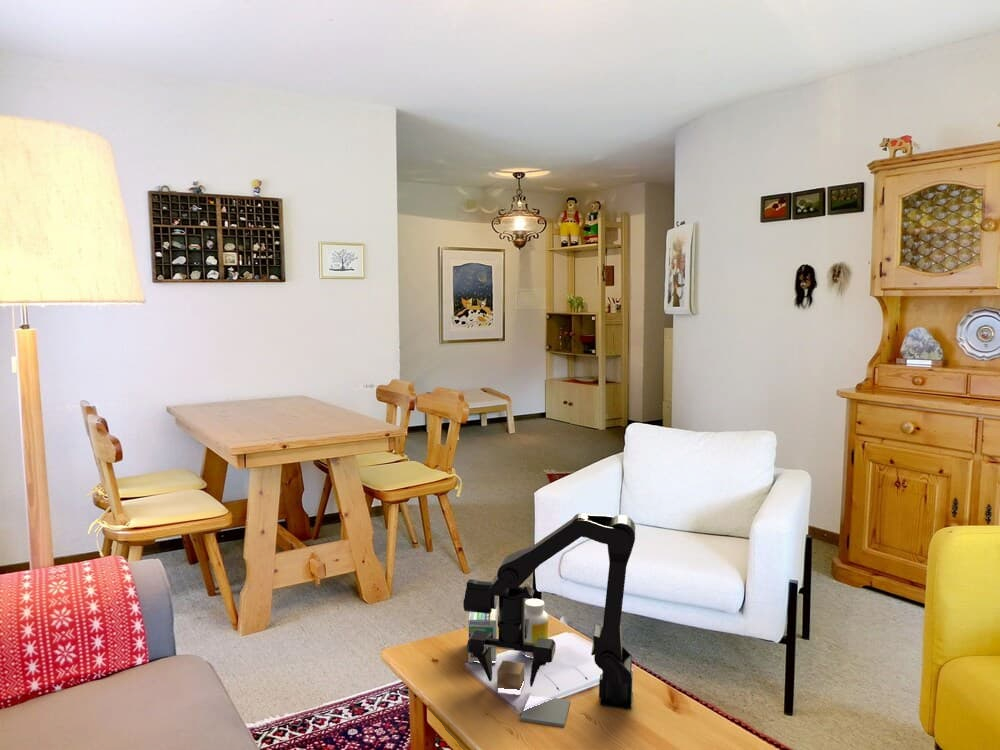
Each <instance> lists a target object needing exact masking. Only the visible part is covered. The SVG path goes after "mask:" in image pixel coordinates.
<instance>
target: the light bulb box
mask: <svg viewBox="0 0 1000 750" xmlns="http://www.w3.org/2000/svg"><path fill="white" fill-rule="evenodd" d="M497 623H498V606H497V607H496V609H492V612H491V613H490V614H488V613H478V612H468V639H469V638H470V636H471V635H472V633H473V632H474V631H475V630H478V631H487V632H490V634H491V638H495V639H498V626H497ZM497 653H498V648H491V660H492V661H496V662H497ZM474 661H479V660H478V658H477V657H474V656H473V653H469V652H468V663H469V662H474Z"/></svg>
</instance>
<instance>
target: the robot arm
mask: <svg viewBox="0 0 1000 750" xmlns="http://www.w3.org/2000/svg"><path fill="white" fill-rule="evenodd" d="M580 538H587V539H589V540H592V541H594V542H597V543H600V544H604V545H606V546H607V553H608V562H609V565H608V574H607V575H608V576H607V584H606V585H607V586H606V592H605V593H606V594H605V602H604V612H603V613H604V614H603V620H602V622H601V625H599V624H594V631H593V636H592V638H593V640H592V646H591V653H590V654H591V655H590V656H593V659H594V663H595V665H596V666H597V667H598V669H600V670H601V671H602V673H601V674H600V676H599V682H598V683H599V684H598V686H599V687H598V698H599V699H600V705H599V706H602V707H609V708H618V709H623V710H632V709H633V698H634V692H633V680H634V679H633V677H634V675H633V674H634V672H633V671H634V670H632V668H633V666H632V664H633V656H632V653H630V652H629V651H628V650H627V648H625V647H624V645H623V637H622V635H623V633H622V626H621V622H622V621H621V619H622V610H623V601H624V592H625V583H626V573H627V566H628V563H629V561H630V560H629V559H630V557H631V554H632V551H633V548H634V545H635V541H636V525H635V522H634V520H632V518H631V517H629V516H628V515H623V514H617V515H615V516H611V515H605V514H588V513H583V512H580V513H576V514H575V515H574V516H573V517H572V518H571V519H570V520H568V521H567V522H566V523H564V524H562V525H561V526H560V527H558V528H557V529H555V530H553V531H552V532H551V533H549V534H548V535H547V536H544V538H542V539H541V540H539V541H538V542H537V543H535V544H533V545H532V546H530V547H526V548H525V549H519V550H517V551H515V552H514V553H511V554H509V555H507V556H506V557H505V558H503V561H501V564H500V566H499V567H498V569H497V574H496V575H495V576H494V578H493V579H492V581H484V580H477V579H472V578H471V579H468V580H467V582H466V589H465V592H464V593H465V594H464V598H463V602H462V603H463V604H462V605H463V611H464V612H466V613H467V612H468V613H470V612H478V613H488V614H490V613H491V612H492V609H496V607H497V608H498V615H497V629H498V636H497V639H495V638H491V634H490V632H487V631H478V630H475V631H474V632H473V633H472V635H471V636H470V638H469V637H468V640H467V642H466V644H467V645H466V651H467V652H468V654H469V653H473V656H474V657H477V658H478V660H479V662H480V663H479V664H480V665H481V667H482V668H483V670H484V673H485V675H486V677H487V680H488V681H489V682H492V680H493V664H492V660H491V648H497V649H499V650H509V651H517V652H521V651H523V652H531V653H533V659H532V661H531V668H530V677H529V686H530V688H532V687H533V685H534V683H535V679H536V678H537V677H536V676H537V674H538V671H539V670H540V667H541V666H543V667H544V666H546V665H547V664H549V663H552V662H553V660H554V656H555V653H556V648H557V646H556V641H555V640H554V639H553V638H548V639H546V638H537V641H536V643H528V642H525V639H526V638H527V634H528V627H529V619H526V618H525V610H526V609H525V601H526V600H528V599H533V597H534V594H535V589H533V588H532V587H531V586H530V585H529V583H525V584H524V582H525V581H526V580H527V579H529V578H530V576H532V574H533V572H534V573H535V570H536V569H537V568H539V566H541V565H542V564H544V563H545V562H546V561H547V560H549V559H551V558H552V557H554V556H555V555H556V554H558V553H560V552H561V551H563V550H564V549H565V548H567V547H569V546H570V545H571V544H573V543H574V542H575V541H578V539H580ZM523 584H524V585H523ZM521 585H522V586H521Z"/></svg>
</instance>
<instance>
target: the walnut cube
mask: <svg viewBox="0 0 1000 750" xmlns="http://www.w3.org/2000/svg"><path fill="white" fill-rule="evenodd" d="M496 676H497V678H496V685H497V687H496V689H497V688H504V689H517V690H520V688H521V686H522V683H523V681H524V682H525V663H524V662H518V661H511V660H501V663H500V665H499V667H498V669H497V673H496Z"/></svg>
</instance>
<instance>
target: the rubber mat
mask: <svg viewBox="0 0 1000 750" xmlns="http://www.w3.org/2000/svg"><path fill="white" fill-rule="evenodd" d="M553 698H554V699H552V700H549V701H547V702H544V703H542V704H540V705H537V706H534V707H532V708H529V709H527V710H525V711H523V710H522V712H521V715H520V718H519V721H521V722H527V723H534V724H540V725H549V726H556V727H562V728H565V726H566V721H567V718H568V714H569V710H570V707H571V706H570V705H571V699H570V700H569V699H564V698H557V697H553Z"/></svg>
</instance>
